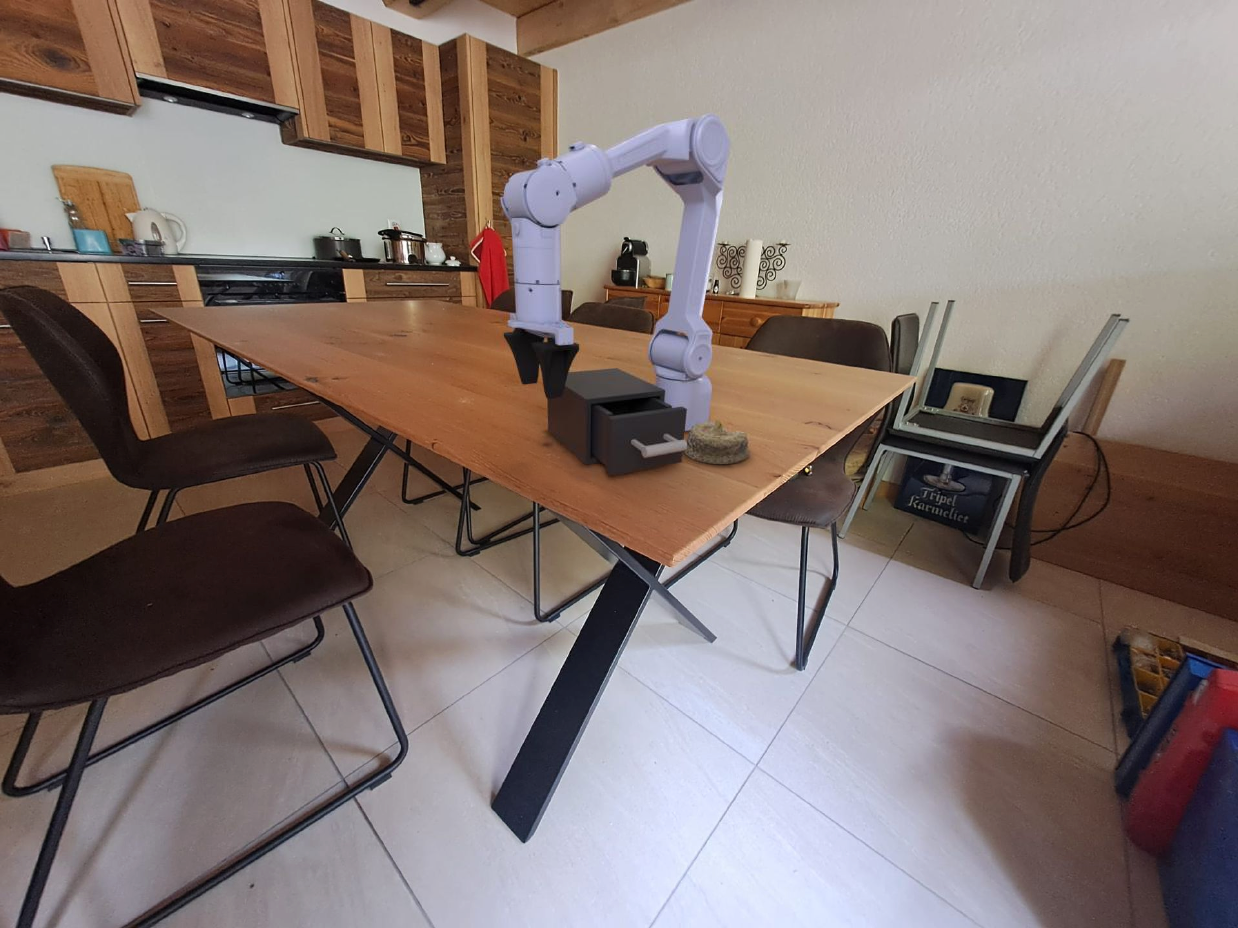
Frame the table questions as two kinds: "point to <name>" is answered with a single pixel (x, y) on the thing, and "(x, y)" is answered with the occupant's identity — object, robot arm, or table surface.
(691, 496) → the table surface
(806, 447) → the table surface
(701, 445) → the beige textured round mound
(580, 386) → the cabinet
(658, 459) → the drawer
